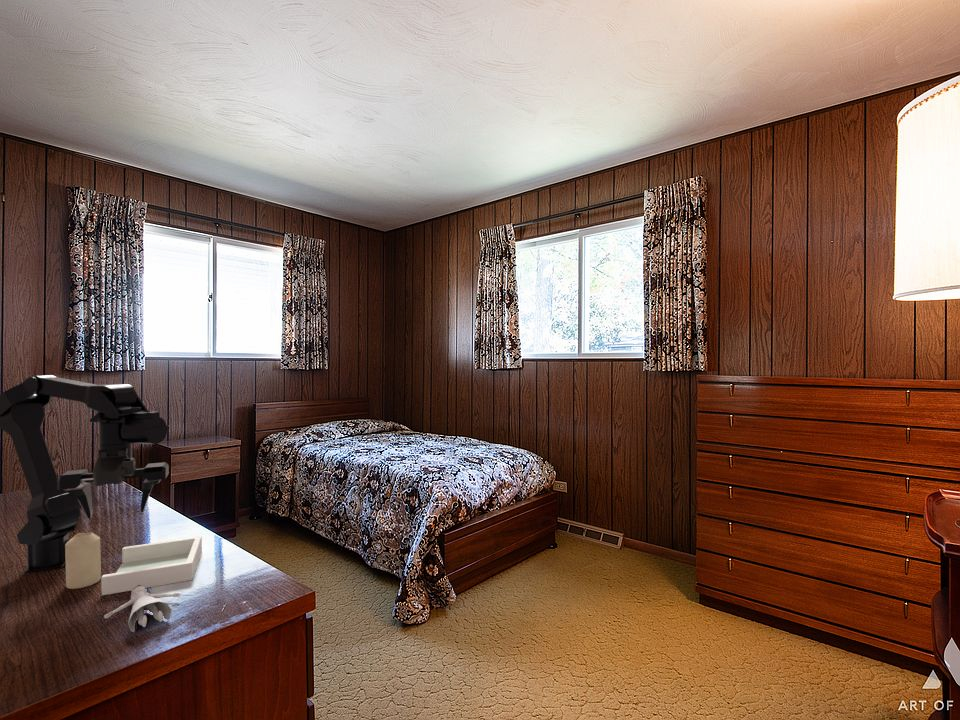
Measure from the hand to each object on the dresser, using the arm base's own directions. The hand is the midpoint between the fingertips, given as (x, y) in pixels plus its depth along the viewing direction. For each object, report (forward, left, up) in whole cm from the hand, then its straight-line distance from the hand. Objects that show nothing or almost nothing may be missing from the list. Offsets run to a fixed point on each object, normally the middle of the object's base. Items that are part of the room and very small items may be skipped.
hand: (116, 515), depth 105 cm
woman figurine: (+9, -24, -12) cm, 29 cm away
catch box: (+7, -4, -12) cm, 15 cm away
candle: (-5, -4, -12) cm, 14 cm away
